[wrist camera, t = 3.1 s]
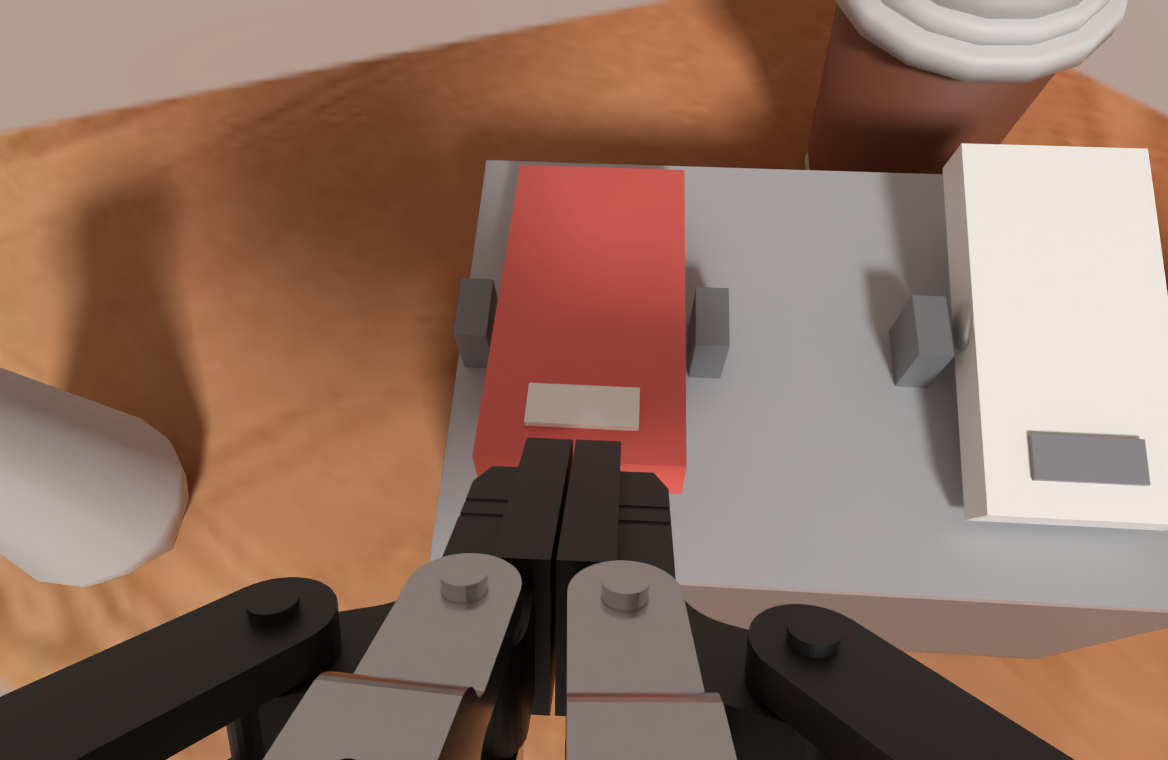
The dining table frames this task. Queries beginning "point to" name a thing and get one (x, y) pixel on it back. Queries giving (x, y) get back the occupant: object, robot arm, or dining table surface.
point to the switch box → (831, 425)
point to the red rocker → (591, 319)
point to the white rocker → (1059, 335)
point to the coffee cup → (941, 75)
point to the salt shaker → (82, 486)
